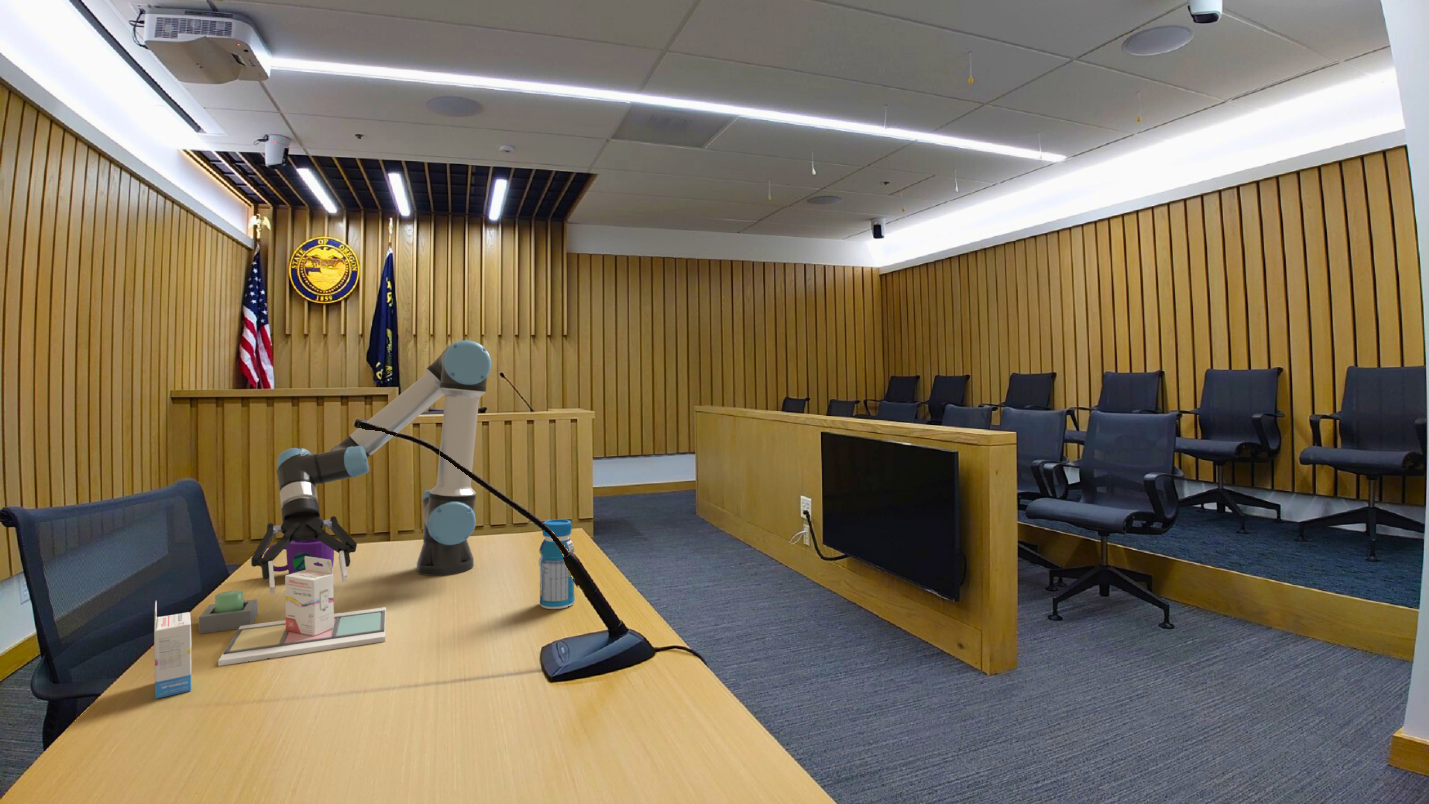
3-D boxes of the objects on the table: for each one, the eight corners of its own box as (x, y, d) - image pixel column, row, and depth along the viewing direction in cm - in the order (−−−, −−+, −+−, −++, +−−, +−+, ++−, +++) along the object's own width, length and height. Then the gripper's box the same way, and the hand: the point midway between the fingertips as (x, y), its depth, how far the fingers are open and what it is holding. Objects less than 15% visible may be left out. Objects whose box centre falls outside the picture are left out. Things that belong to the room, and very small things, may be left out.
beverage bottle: (549, 612, 154) (549, 526, 154) (532, 603, 160) (532, 521, 160) (581, 605, 160) (581, 522, 159) (564, 596, 166) (564, 516, 165)
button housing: (257, 614, 153) (257, 599, 153) (250, 627, 145) (250, 611, 145) (209, 620, 149) (209, 604, 149) (199, 633, 141) (198, 617, 141)
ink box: (192, 691, 114) (191, 606, 114) (154, 700, 111) (153, 612, 111) (191, 674, 121) (190, 594, 121) (155, 682, 118) (153, 599, 118)
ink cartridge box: (283, 631, 139) (282, 561, 138) (306, 623, 143) (304, 555, 143) (313, 636, 136) (312, 565, 135) (335, 628, 140) (334, 559, 140)
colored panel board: (386, 611, 155) (386, 605, 155) (385, 641, 137) (385, 635, 137) (240, 630, 143) (240, 624, 143) (218, 666, 125) (218, 659, 125)
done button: (245, 610, 150) (245, 589, 150) (240, 617, 146) (240, 595, 145) (218, 613, 148) (218, 592, 148) (212, 620, 143) (212, 598, 143)
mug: (340, 568, 191) (339, 533, 191) (326, 579, 180) (326, 542, 180) (272, 571, 188) (272, 536, 187) (254, 583, 177) (253, 545, 176)
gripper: (357, 508, 167) (370, 582, 156) (234, 522, 152) (239, 605, 140) (360, 490, 163) (374, 565, 151) (235, 502, 147) (239, 586, 136)
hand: (309, 584), depth 146 cm, fingers open, 13 cm apart
